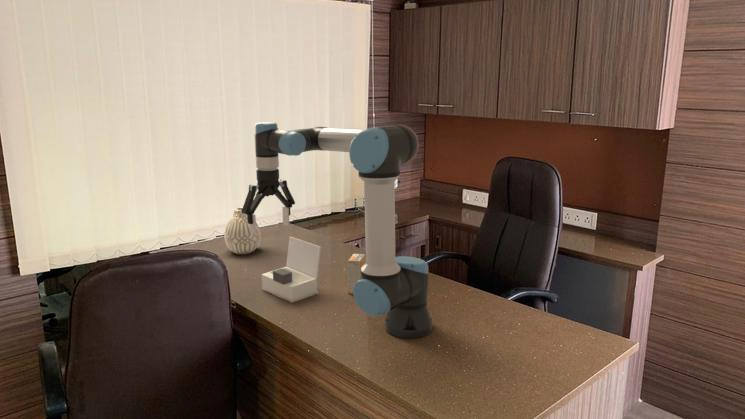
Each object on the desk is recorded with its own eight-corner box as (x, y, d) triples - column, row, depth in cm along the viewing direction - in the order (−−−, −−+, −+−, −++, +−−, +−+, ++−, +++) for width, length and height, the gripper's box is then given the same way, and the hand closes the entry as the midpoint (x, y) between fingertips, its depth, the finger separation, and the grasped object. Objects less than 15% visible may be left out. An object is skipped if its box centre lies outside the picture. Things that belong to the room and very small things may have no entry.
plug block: (292, 281, 201) (291, 272, 200) (283, 284, 198) (282, 275, 197) (282, 277, 205) (281, 268, 204) (273, 280, 202) (272, 271, 202)
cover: (316, 277, 204) (319, 277, 205) (320, 246, 202) (322, 246, 203) (286, 265, 216) (289, 265, 217) (289, 236, 215) (292, 236, 216)
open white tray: (318, 293, 206) (317, 278, 204) (292, 303, 197) (291, 287, 196) (288, 280, 218) (287, 266, 216) (262, 289, 210) (261, 274, 208)
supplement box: (360, 295, 204) (360, 261, 201) (347, 294, 205) (347, 260, 202) (365, 286, 212) (365, 253, 209) (353, 285, 213) (352, 253, 210)
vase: (245, 243, 263) (242, 202, 258) (269, 250, 254) (266, 207, 249) (217, 252, 251) (214, 209, 246) (242, 259, 242) (239, 215, 237)
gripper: (291, 162, 200) (292, 219, 205) (228, 171, 183) (232, 233, 188) (303, 165, 195) (305, 224, 200) (241, 174, 178) (244, 238, 183)
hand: (270, 228), depth 194 cm, fingers open, 13 cm apart
